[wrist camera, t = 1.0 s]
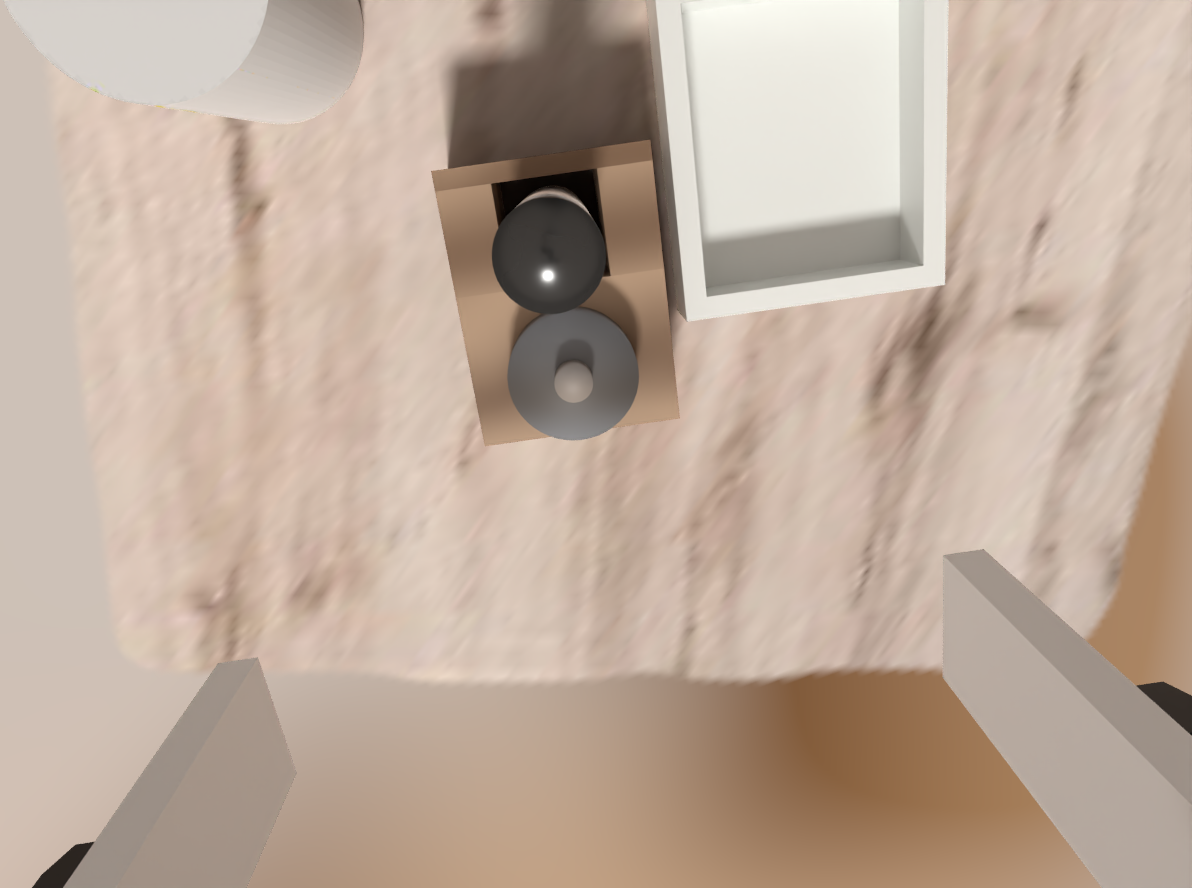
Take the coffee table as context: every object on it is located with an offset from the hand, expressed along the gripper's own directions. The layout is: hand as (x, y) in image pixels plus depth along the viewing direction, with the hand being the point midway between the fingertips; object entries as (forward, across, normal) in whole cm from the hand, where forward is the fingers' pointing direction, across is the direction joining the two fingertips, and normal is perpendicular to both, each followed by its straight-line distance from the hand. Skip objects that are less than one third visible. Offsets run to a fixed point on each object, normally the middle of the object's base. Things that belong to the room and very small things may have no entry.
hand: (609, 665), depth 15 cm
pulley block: (+26, 0, +4) cm, 27 cm away
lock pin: (+26, 0, +7) cm, 27 cm away
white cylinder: (+27, -11, +17) cm, 33 cm away
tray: (+26, +11, +9) cm, 30 cm away
